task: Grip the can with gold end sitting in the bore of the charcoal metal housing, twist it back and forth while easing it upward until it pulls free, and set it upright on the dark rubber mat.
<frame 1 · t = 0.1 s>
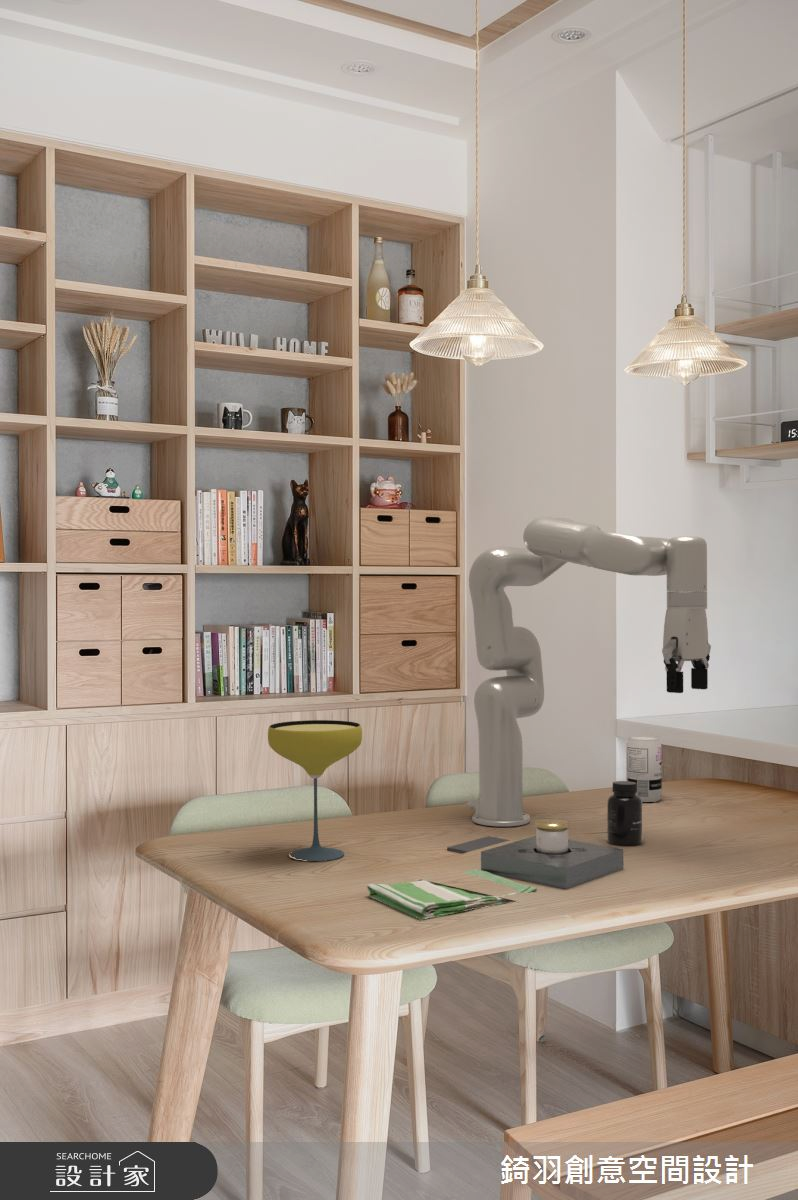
hand: (687, 690, 214), 31 cm above the table, tool pointing down, fingers open, 9 cm apart
cocktail glass: (316, 856, 215), on the table
can with gold end: (552, 870, 198), point 1 cm above the table, touching housing
supplement bottle: (624, 843, 224), on the table
housing: (552, 875, 198), on the table
supplement can: (644, 801, 268), on the table
dish towel: (450, 900, 185), on the table
mat: (494, 849, 218), on the table
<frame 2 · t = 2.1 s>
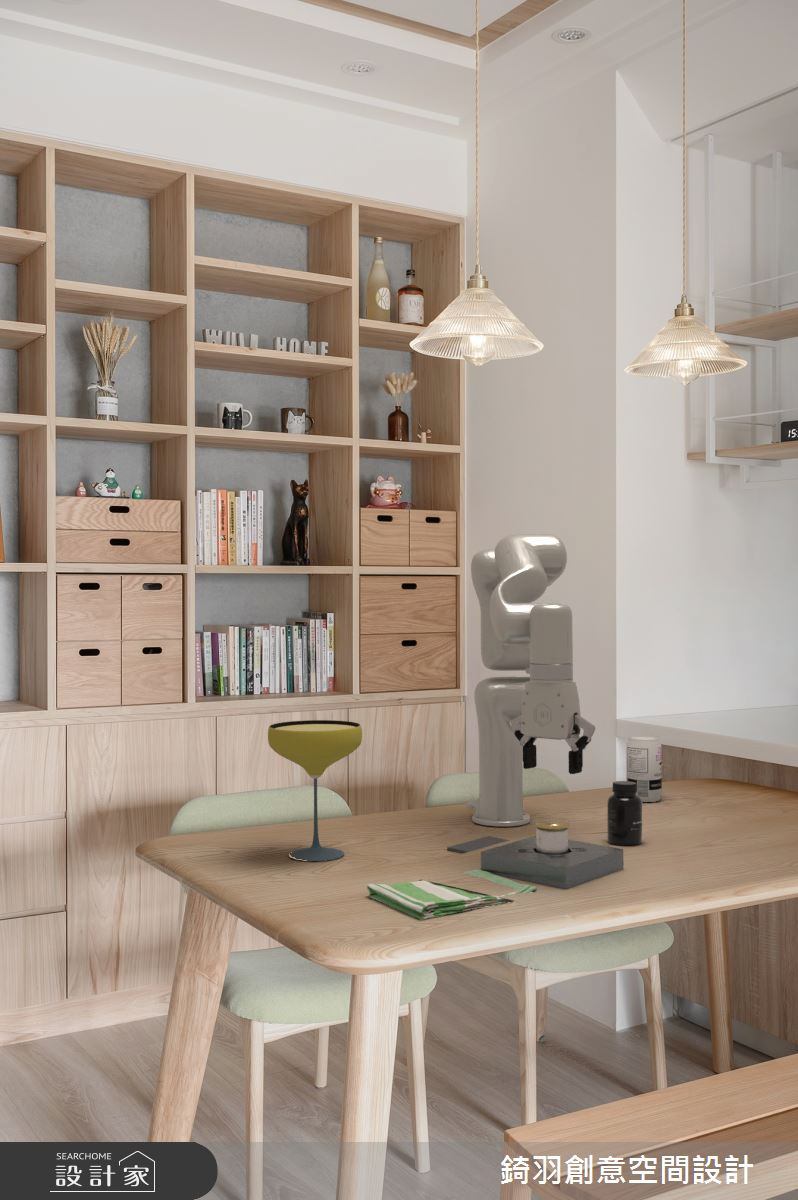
hand: (552, 770, 198), 19 cm above the table, tool pointing down, fingers open, 9 cm apart
nothing on the table moved.
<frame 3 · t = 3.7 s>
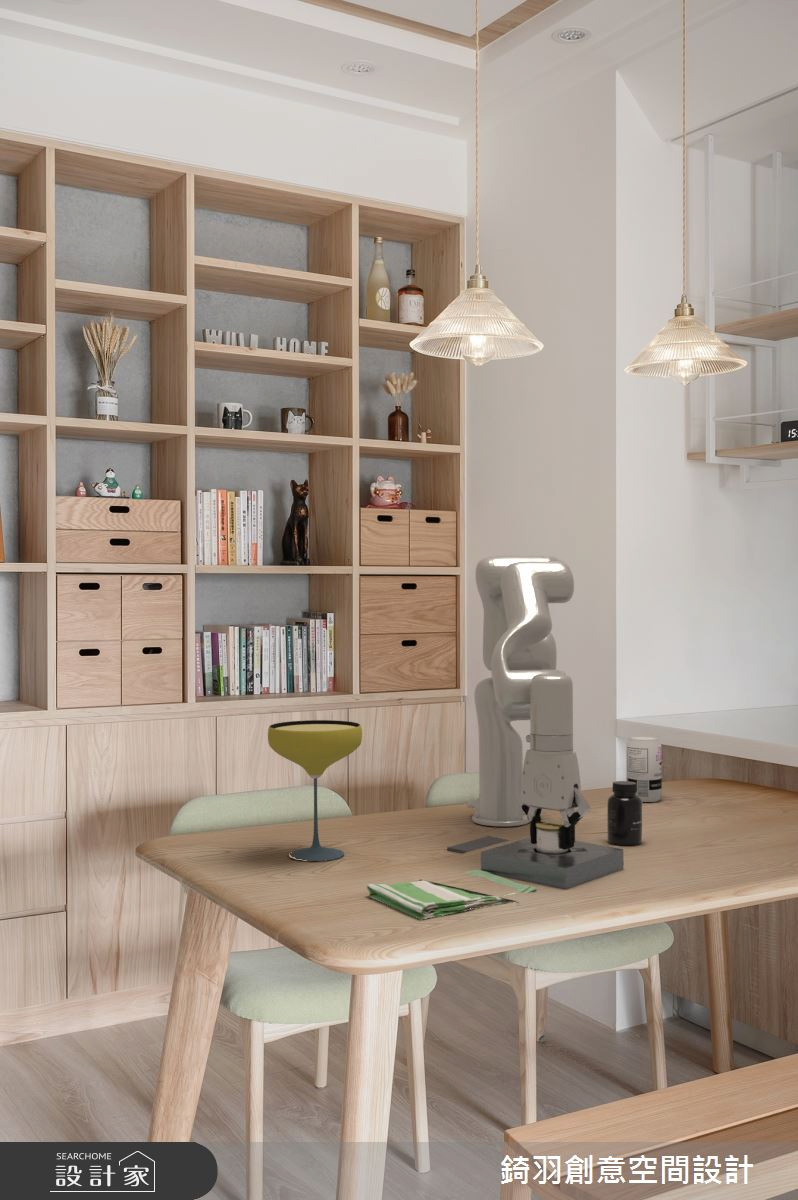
hand: (552, 844, 198), 6 cm above the table, tool pointing down, fingers closed on can with gold end, 5 cm apart
can with gold end: (552, 869, 198), point 1 cm above the table, touching gripper, housing
everything else where it was.
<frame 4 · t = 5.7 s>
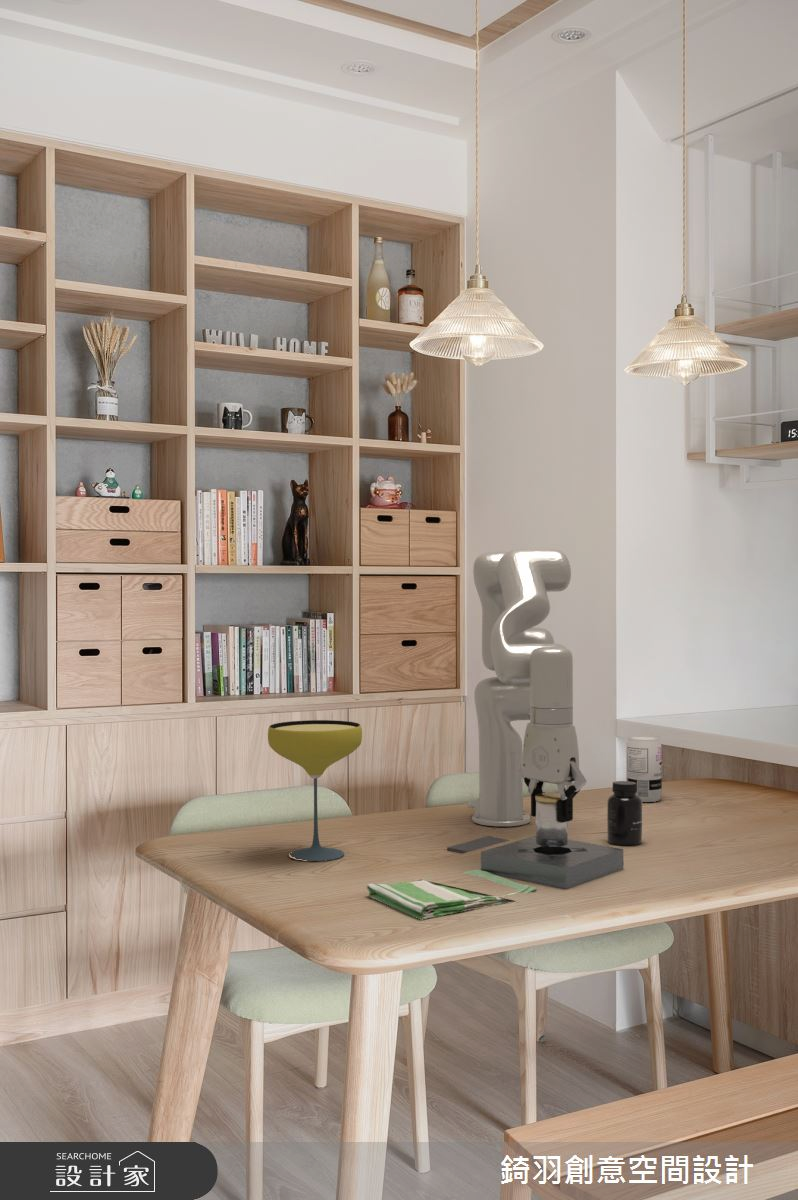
hand: (551, 817, 198), 10 cm above the table, tool pointing down, fingers closed on can with gold end, 5 cm apart
can with gold end: (551, 842, 198), point 6 cm above the table, touching gripper
everything else where it was.
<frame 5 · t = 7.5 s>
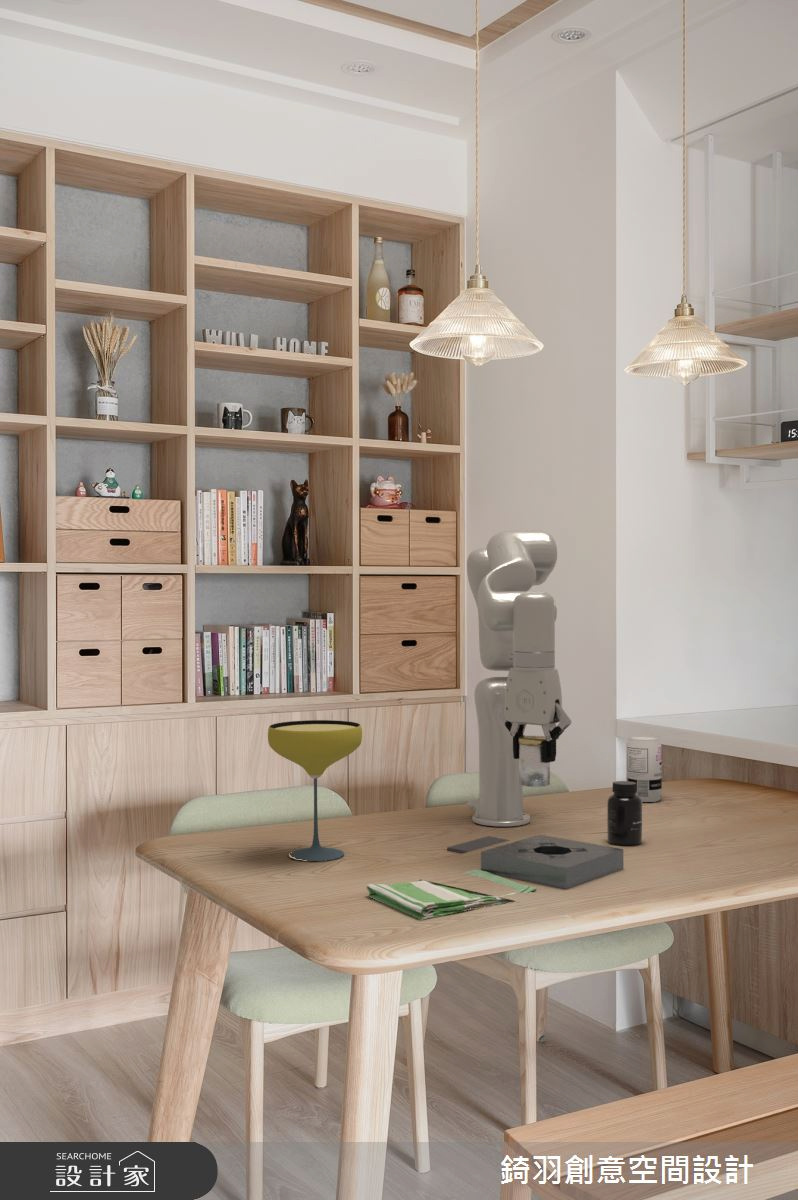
hand: (534, 758, 204), 20 cm above the table, tool pointing down, fingers closed on can with gold end, 5 cm apart
can with gold end: (534, 783, 204), point 15 cm above the table, touching gripper
everything else where it was.
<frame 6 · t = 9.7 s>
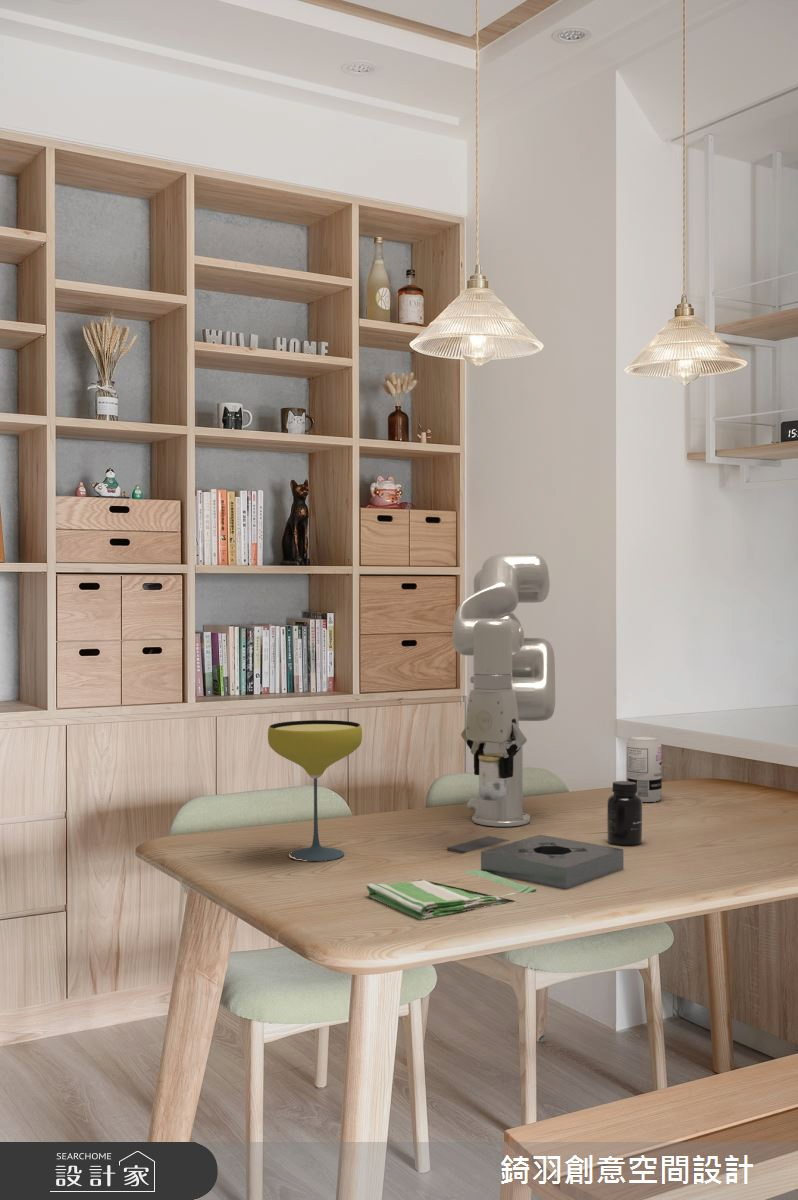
hand: (493, 775, 218), 15 cm above the table, tool pointing down, fingers closed on can with gold end, 5 cm apart
can with gold end: (493, 798, 218), point 10 cm above the table, touching gripper
everything else where it was.
when the fingers open (7 cm above the table, at t = 11.5 s): can with gold end drops 2 cm, resting on mat.
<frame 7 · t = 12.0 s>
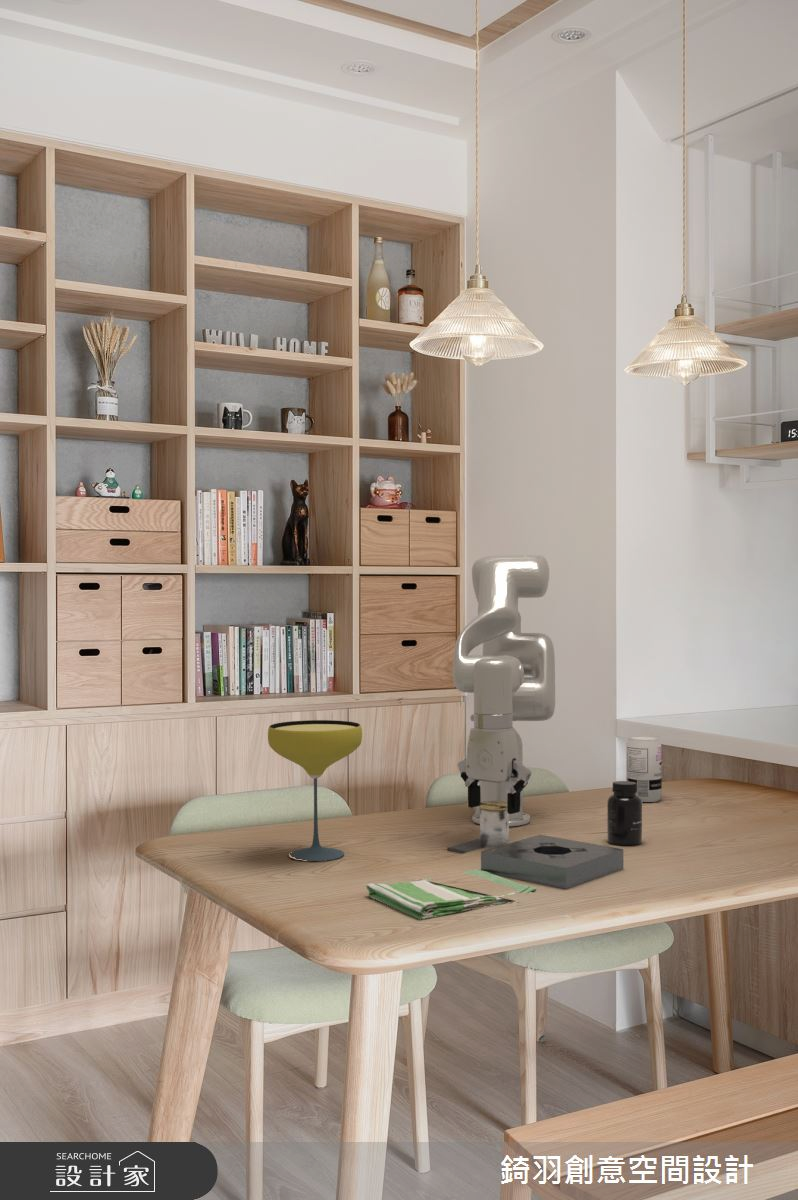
hand: (493, 809, 218), 8 cm above the table, tool pointing down, fingers open, 9 cm apart
can with gold end: (494, 846, 218), point 1 cm above the table, touching mat
everything else where it was.
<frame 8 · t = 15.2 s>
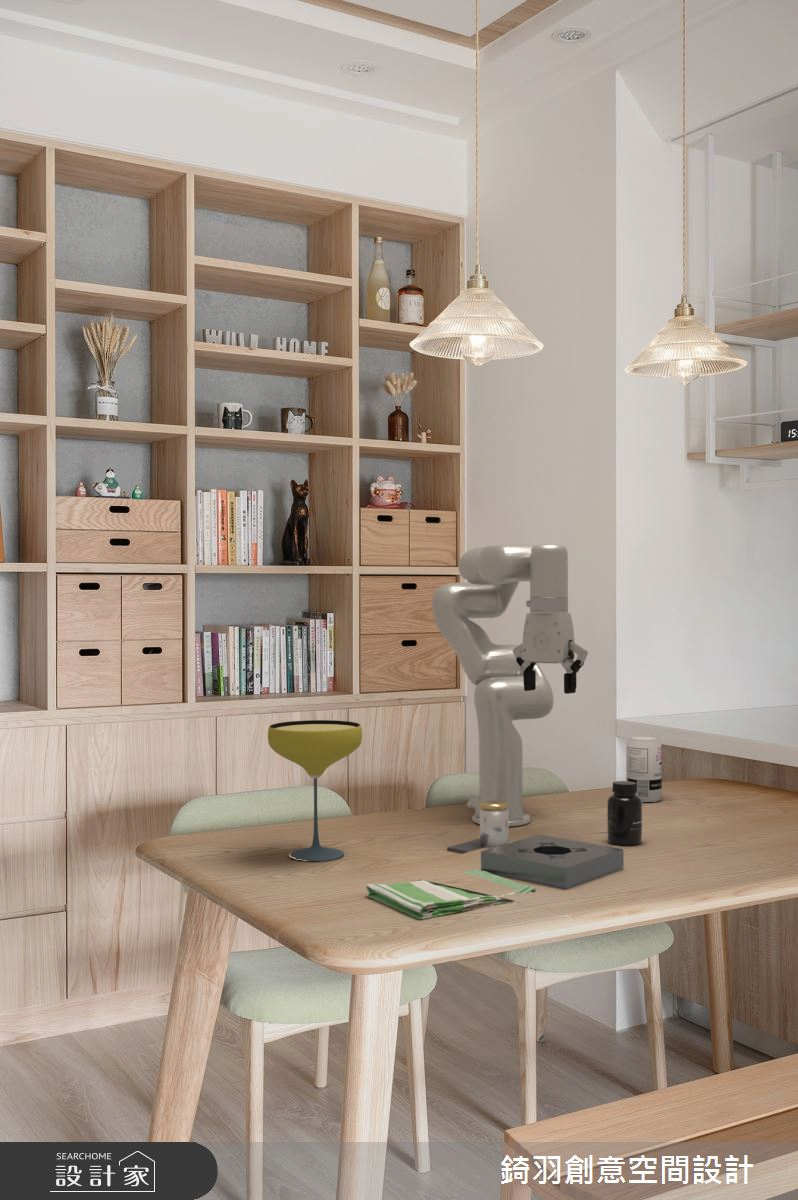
hand: (549, 691, 223), 30 cm above the table, tool pointing down, fingers open, 9 cm apart
nothing on the table moved.
at the end: can with gold end inside the target area on the mat (0.1 cm from its centre), point 0.7 cm above the mat's base; can with gold end tilted 1°; can with gold end touching mat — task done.
